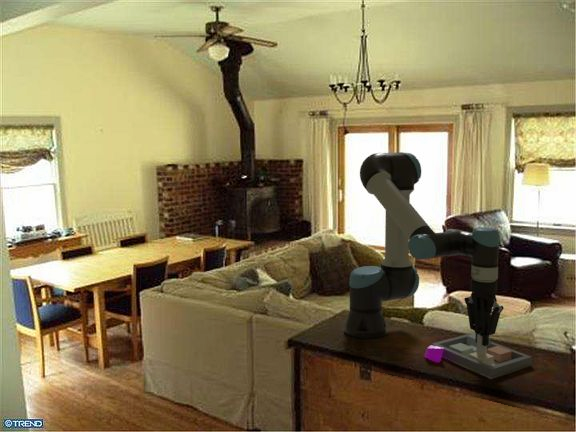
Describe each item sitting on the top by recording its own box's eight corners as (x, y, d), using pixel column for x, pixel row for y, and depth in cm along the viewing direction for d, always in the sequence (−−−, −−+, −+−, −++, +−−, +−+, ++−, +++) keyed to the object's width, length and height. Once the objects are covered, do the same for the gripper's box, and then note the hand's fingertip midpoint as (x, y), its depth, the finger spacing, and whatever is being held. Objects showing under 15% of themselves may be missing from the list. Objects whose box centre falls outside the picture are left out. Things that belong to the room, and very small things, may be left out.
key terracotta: (486, 356, 171) (486, 349, 171) (497, 353, 174) (497, 345, 173) (500, 362, 167) (500, 354, 166) (511, 358, 169) (511, 351, 169)
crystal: (439, 356, 175) (440, 342, 174) (444, 363, 169) (445, 349, 169) (423, 356, 174) (423, 343, 174) (428, 363, 169) (428, 349, 168)
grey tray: (431, 352, 178) (431, 343, 177) (469, 341, 187) (470, 333, 186) (491, 379, 157) (491, 369, 157) (531, 366, 166) (531, 356, 165)
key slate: (466, 343, 178) (466, 335, 177) (477, 340, 180) (477, 333, 180) (479, 348, 173) (479, 340, 173) (490, 345, 176) (490, 337, 176)
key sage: (448, 353, 174) (449, 345, 174) (460, 350, 177) (460, 342, 176) (461, 358, 170) (461, 351, 169) (473, 355, 172) (473, 347, 172)
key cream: (468, 361, 167) (468, 354, 167) (480, 358, 170) (480, 350, 169) (482, 367, 163) (482, 359, 162) (493, 364, 165) (494, 356, 165)
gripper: (458, 276, 167) (456, 350, 170) (493, 285, 155) (490, 364, 158) (475, 273, 170) (473, 345, 173) (511, 282, 159) (507, 359, 162)
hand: (481, 354), depth 166 cm, fingers closed
